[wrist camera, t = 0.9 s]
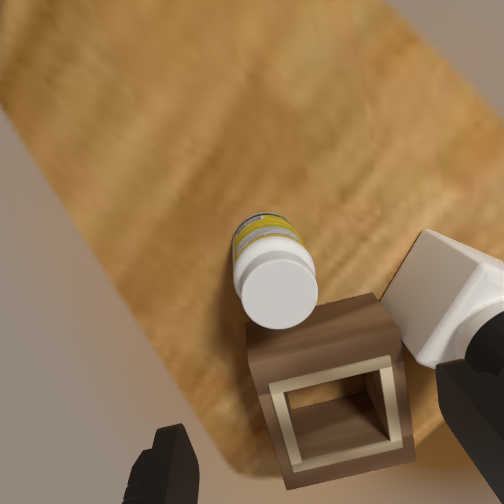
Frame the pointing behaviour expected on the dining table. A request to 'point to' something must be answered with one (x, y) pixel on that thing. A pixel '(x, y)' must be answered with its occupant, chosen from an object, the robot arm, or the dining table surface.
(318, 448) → the socket block
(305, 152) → the dining table surface
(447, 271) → the medicine bottle
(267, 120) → the dining table surface
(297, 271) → the supplement bottle
